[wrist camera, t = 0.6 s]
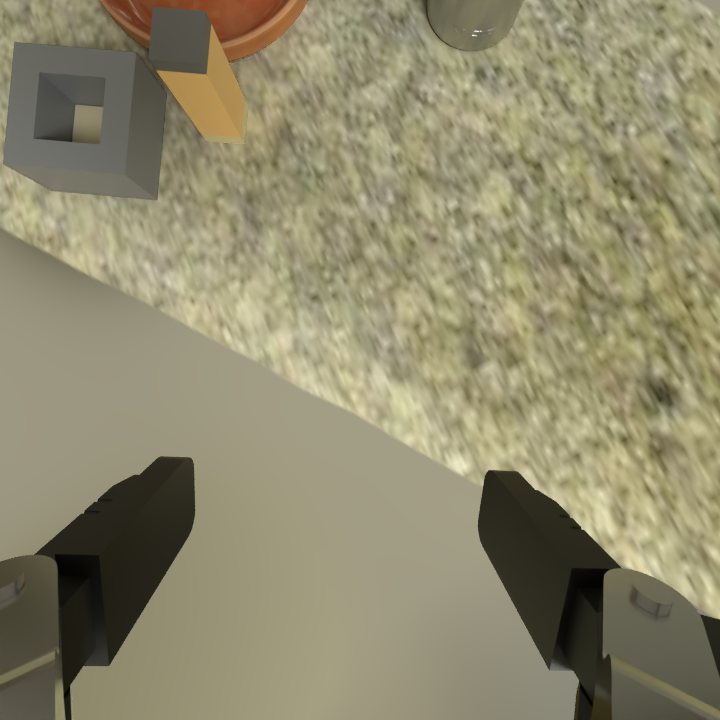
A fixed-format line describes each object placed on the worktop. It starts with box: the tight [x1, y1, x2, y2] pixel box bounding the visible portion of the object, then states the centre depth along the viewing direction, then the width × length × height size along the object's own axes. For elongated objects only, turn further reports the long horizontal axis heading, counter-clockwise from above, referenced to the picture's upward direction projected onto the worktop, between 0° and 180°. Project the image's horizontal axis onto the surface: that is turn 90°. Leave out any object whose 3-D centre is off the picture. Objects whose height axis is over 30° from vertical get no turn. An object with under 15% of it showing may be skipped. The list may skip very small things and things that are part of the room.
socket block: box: [3, 42, 167, 200], centre depth 34 cm, size 11×11×5 cm
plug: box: [148, 7, 248, 145], centre depth 32 cm, size 4×4×10 cm
